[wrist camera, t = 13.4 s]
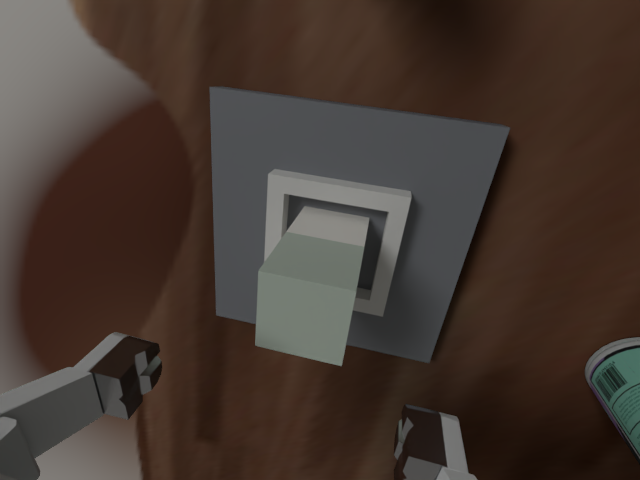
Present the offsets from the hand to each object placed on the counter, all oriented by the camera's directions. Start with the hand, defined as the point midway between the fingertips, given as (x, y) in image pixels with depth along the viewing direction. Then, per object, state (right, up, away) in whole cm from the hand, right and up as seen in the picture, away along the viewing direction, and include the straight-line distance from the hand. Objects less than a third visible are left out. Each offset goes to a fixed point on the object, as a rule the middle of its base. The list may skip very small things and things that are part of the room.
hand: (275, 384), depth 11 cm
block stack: (+2, +5, +11) cm, 12 cm away
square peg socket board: (+3, +5, +12) cm, 13 cm away
